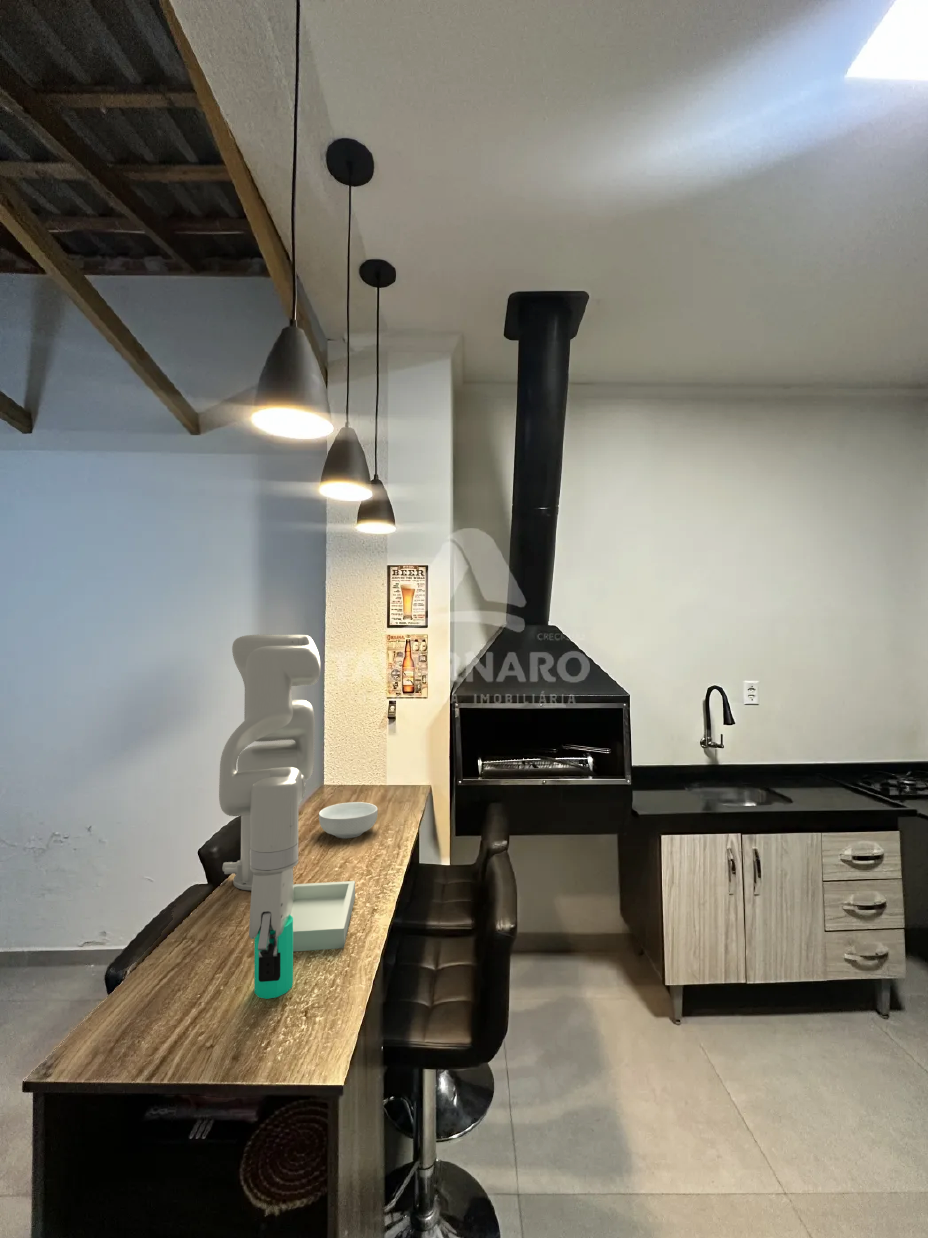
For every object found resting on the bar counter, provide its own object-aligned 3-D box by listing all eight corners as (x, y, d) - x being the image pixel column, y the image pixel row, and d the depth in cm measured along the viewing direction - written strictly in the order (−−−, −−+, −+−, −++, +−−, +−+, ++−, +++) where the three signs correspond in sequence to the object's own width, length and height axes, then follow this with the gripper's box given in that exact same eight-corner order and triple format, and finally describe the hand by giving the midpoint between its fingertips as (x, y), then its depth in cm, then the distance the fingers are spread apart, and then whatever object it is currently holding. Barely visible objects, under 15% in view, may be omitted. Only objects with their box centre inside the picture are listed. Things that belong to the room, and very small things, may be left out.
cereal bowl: (373, 821, 169) (373, 799, 169) (382, 839, 153) (382, 814, 153) (317, 828, 164) (317, 804, 164) (320, 847, 148) (320, 821, 148)
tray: (265, 953, 97) (265, 933, 97) (289, 901, 117) (289, 884, 117) (343, 948, 98) (343, 928, 98) (355, 897, 118) (355, 881, 118)
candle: (263, 975, 90) (263, 902, 91) (298, 975, 90) (298, 902, 91) (247, 998, 84) (248, 920, 85) (285, 999, 84) (285, 920, 85)
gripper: (264, 838, 96) (264, 942, 96) (234, 879, 80) (233, 1006, 79) (307, 836, 97) (307, 939, 96) (286, 876, 80) (285, 1002, 79)
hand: (274, 968), depth 88 cm, fingers closed on candle, 4 cm apart
